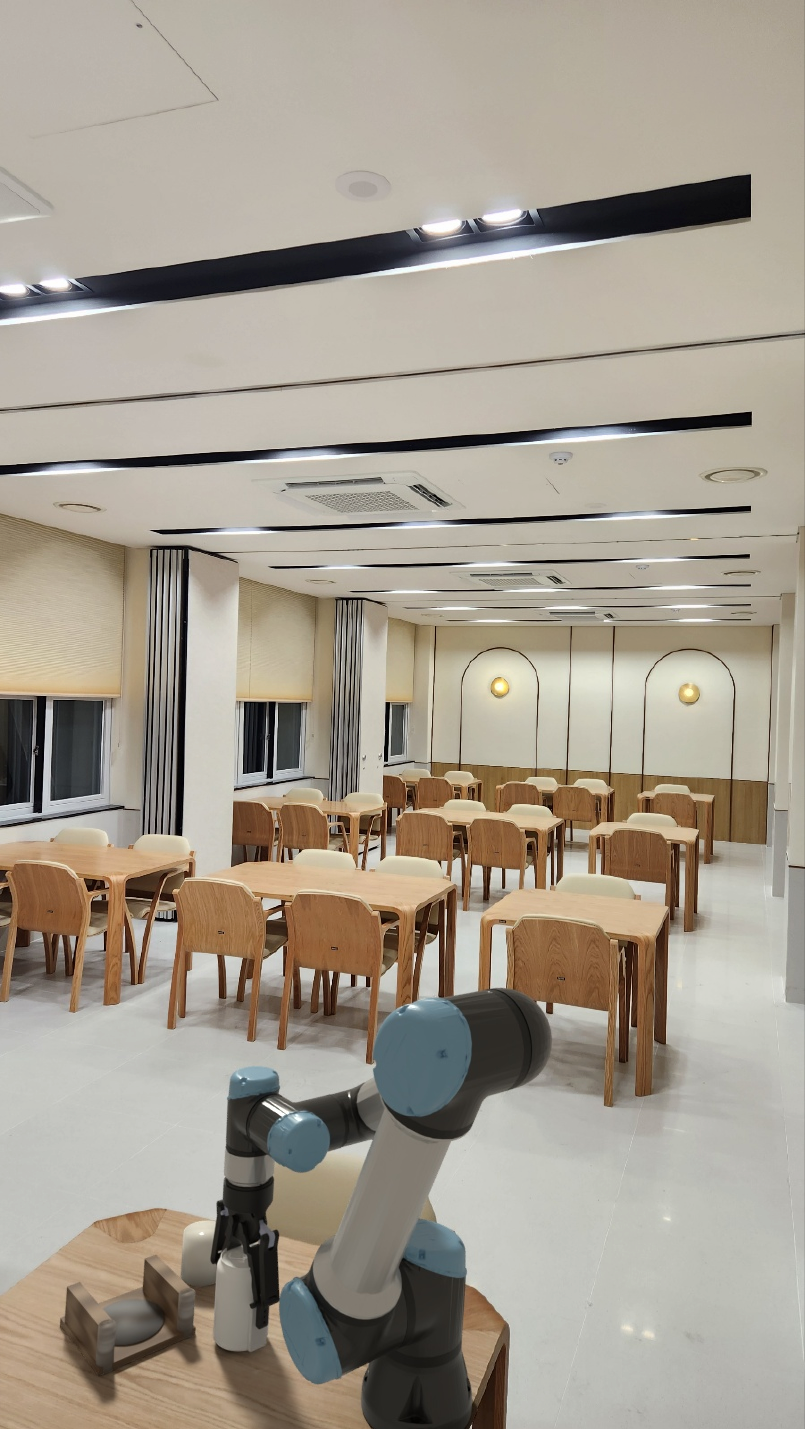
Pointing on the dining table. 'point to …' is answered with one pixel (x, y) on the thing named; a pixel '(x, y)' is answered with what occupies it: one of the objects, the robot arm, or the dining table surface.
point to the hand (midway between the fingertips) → (240, 1331)
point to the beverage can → (233, 1300)
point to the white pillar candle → (198, 1254)
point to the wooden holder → (130, 1318)
